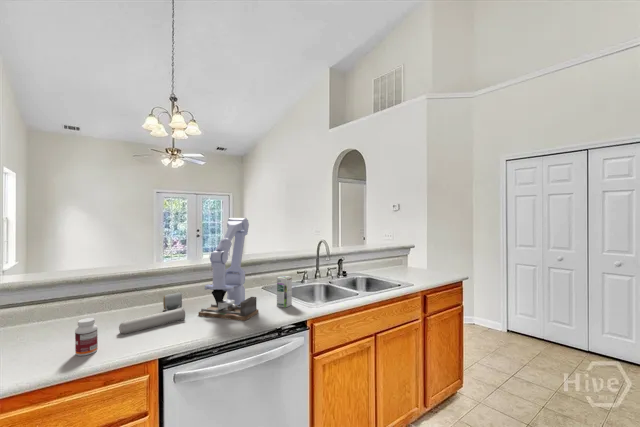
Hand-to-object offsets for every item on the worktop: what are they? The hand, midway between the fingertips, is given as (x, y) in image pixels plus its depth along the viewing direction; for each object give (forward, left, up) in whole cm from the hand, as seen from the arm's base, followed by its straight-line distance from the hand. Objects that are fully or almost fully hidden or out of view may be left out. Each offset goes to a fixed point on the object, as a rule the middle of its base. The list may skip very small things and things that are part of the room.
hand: (219, 305), depth 155 cm
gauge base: (0, +5, -3) cm, 6 cm away
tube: (+23, -16, -4) cm, 28 cm away
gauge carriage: (+2, +5, -2) cm, 6 cm away
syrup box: (-20, +24, -4) cm, 32 cm away
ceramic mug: (+2, -24, -4) cm, 24 cm away
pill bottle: (+50, -18, -4) cm, 53 cm away
